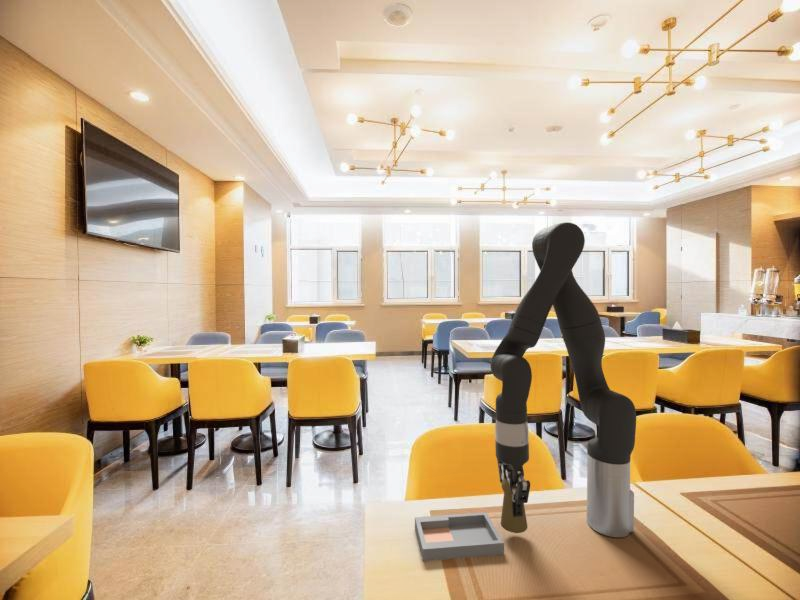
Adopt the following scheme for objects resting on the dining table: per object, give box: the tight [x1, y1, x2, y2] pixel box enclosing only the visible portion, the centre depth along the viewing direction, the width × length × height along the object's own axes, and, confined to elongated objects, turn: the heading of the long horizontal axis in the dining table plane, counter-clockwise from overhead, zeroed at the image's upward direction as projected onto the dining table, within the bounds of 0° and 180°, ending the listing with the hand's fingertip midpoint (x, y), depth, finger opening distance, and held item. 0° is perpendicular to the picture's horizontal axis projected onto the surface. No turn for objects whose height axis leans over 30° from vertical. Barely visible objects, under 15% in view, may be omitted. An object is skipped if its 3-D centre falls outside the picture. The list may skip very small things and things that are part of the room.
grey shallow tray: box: [414, 511, 505, 562], centre depth 87 cm, size 18×12×3 cm, turn 96°
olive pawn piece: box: [500, 477, 528, 534], centre depth 88 cm, size 6×6×11 cm
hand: (513, 510), depth 88 cm, fingers closed on olive pawn piece, 4 cm apart
